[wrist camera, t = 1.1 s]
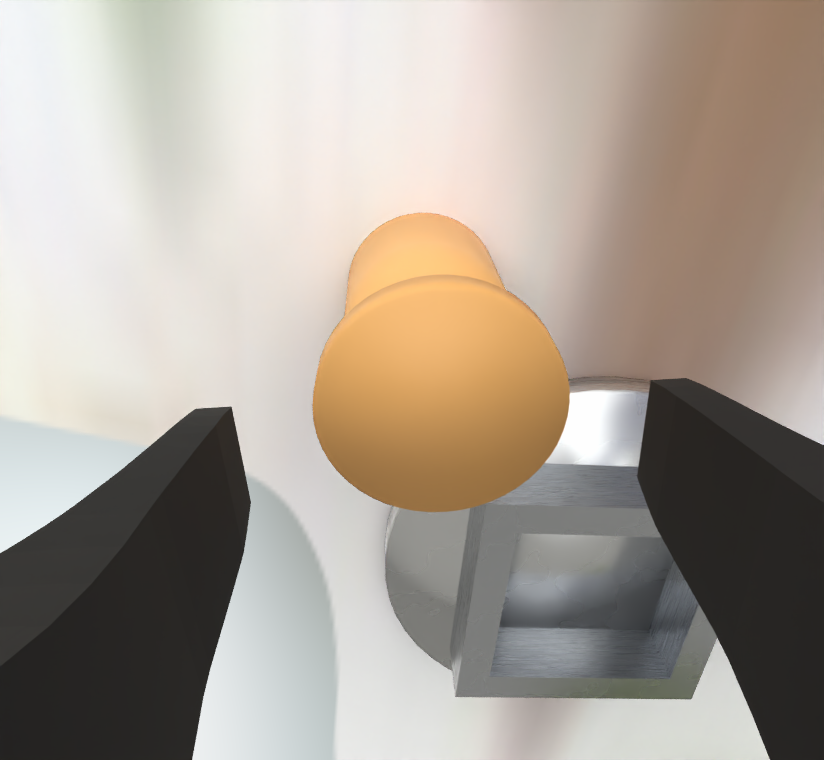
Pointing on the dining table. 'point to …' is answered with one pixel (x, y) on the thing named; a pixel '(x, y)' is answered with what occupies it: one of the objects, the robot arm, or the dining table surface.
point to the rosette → (556, 573)
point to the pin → (436, 373)
